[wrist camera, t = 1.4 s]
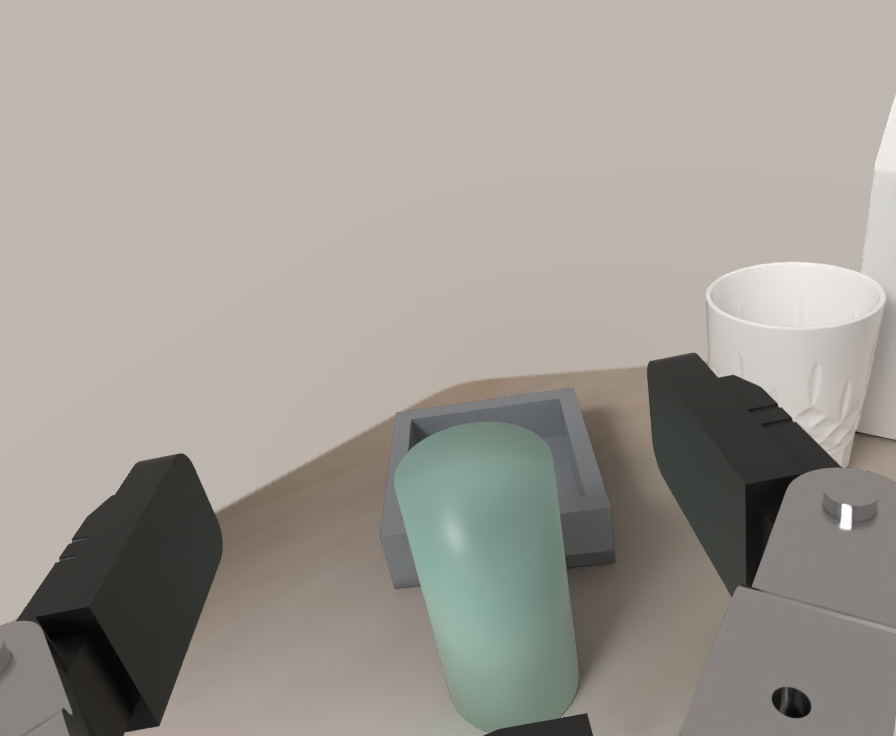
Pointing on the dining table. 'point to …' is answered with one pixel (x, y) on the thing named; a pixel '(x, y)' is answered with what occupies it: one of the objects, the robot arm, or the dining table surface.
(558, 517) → the mint green cylinder
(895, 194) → the milk carton
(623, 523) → the dining table surface
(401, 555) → the dish
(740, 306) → the white cup
